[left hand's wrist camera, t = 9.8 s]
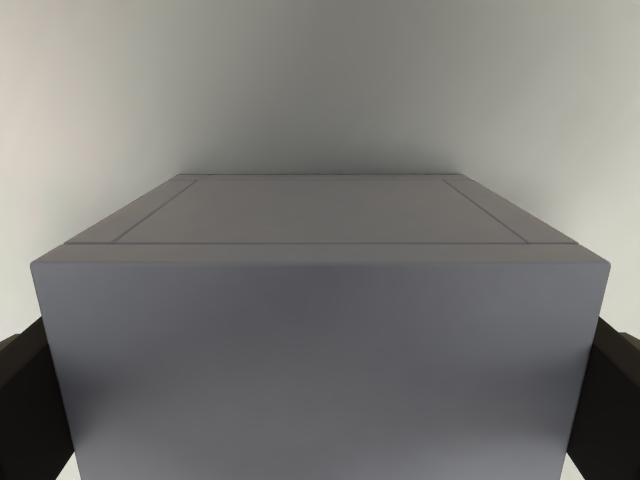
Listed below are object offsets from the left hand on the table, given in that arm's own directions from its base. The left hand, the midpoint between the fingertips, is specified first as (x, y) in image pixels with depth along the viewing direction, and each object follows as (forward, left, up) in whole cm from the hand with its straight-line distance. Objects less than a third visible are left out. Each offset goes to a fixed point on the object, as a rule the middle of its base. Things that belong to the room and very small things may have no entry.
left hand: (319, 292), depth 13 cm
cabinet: (+8, 0, -4) cm, 9 cm away
